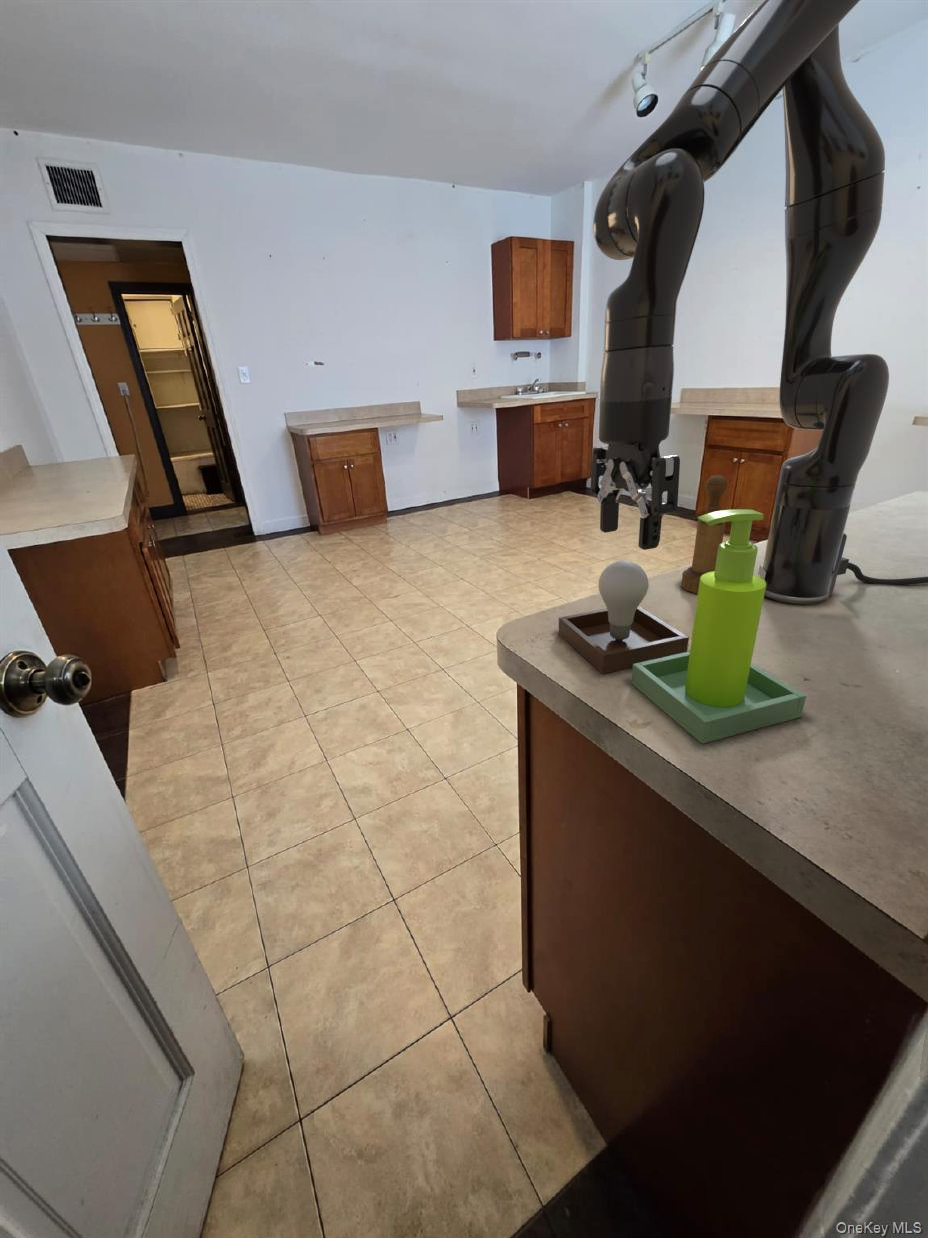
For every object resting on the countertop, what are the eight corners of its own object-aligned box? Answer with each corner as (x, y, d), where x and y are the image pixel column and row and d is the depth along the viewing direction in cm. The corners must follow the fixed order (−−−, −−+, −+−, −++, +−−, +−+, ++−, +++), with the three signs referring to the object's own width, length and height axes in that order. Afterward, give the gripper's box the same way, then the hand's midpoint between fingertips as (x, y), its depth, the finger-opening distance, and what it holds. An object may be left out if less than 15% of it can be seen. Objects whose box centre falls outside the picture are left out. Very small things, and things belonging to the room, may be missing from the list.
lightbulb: (643, 632, 70) (651, 555, 66) (642, 653, 65) (650, 571, 60) (598, 628, 72) (601, 553, 68) (593, 648, 67) (597, 568, 62)
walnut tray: (632, 619, 75) (633, 602, 74) (686, 655, 65) (689, 637, 64) (558, 633, 73) (558, 617, 72) (602, 674, 62) (603, 655, 61)
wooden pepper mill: (728, 595, 81) (747, 479, 74) (684, 594, 82) (698, 480, 75) (718, 580, 87) (734, 471, 79) (677, 579, 88) (690, 473, 81)
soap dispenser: (666, 681, 59) (687, 507, 50) (725, 675, 59) (755, 502, 51) (691, 711, 53) (719, 521, 45) (755, 704, 54) (795, 515, 45)
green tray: (717, 663, 63) (720, 644, 62) (801, 717, 52) (806, 695, 51) (631, 683, 60) (632, 663, 59) (701, 744, 49) (705, 722, 48)
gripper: (710, 392, 51) (692, 549, 57) (628, 392, 63) (621, 522, 70) (644, 399, 49) (633, 560, 56) (573, 398, 61) (572, 530, 68)
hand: (627, 539), depth 63 cm, fingers open, 8 cm apart
